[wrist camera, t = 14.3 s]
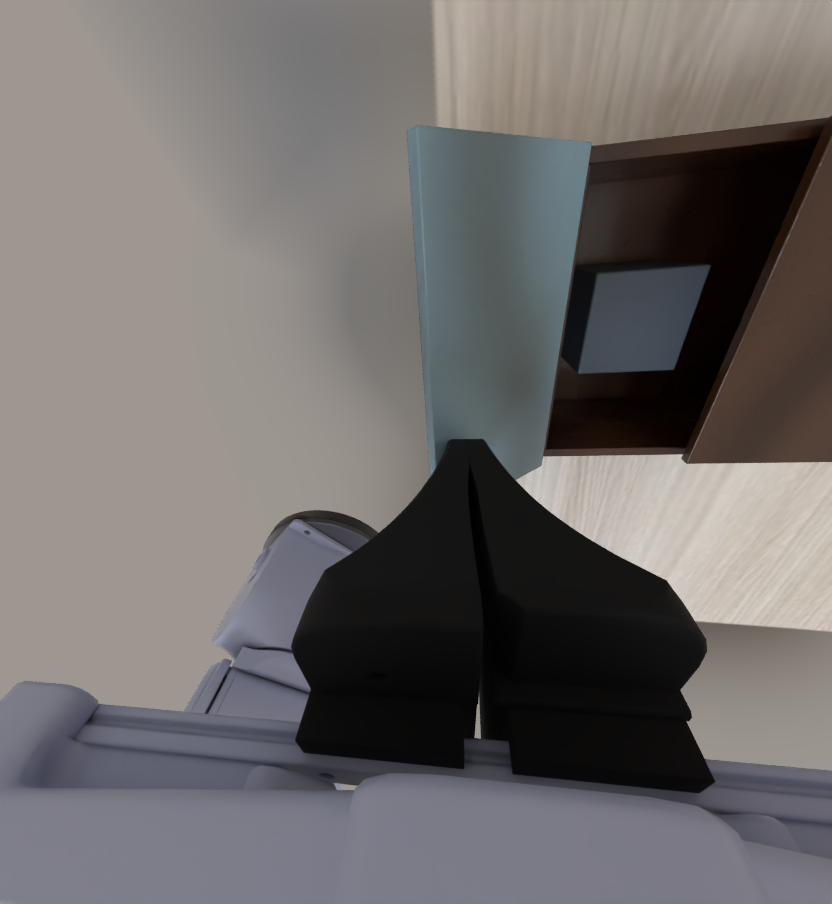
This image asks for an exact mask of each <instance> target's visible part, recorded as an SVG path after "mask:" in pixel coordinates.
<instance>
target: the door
mask: <svg viewBox="0 0 832 904" xmlns="http://www.w3.org/2000/svg"><path fill="white" fill-rule="evenodd" d="M407 143H408V157H409V172H410V186H411V200H412V201H411V202H412V216H413V231H414V246H415V259H416V260H415V261H416V275H417V290H418V303H419V304H418V305H419V319H420V334H421V347H422V348H421V349H422V364H423V378H424V393H425V408H426V422H427V436H428V437H427V438H428V452H429V466H430V477H431V475H432V473H433V472H434V470H435V468H436V467H437V465H438V463H439V462H440V460H441V458H442V456H443V454H444V451H445V449H446V446H447V442H448V441H449V440H451V439H484V440H485V441H486V443H487V444H488V446H489V448H490V449H491V451H492V452H493V453H494V455H495V456H496V457H497V459H498V460H499V461H500V463H501V464H502V465H503V466H504V468H505V469H506V470H507V471H508V472H509V474H510V475H511V476H512V477H513V478H514V479H515V480H516V479H518V478H520V477H522V476H523V475H525V474H527V473H529V472H531V471H532V470H534V469H536V468H538V467H540V466H541V465H542V459H543V452H544V446H545V440H546V433H547V427H548V420H549V414H550V408H551V401H552V395H553V388H554V382H555V376H556V369H557V363H558V356H559V350H560V344H561V337H562V331H563V324H564V318H565V312H566V305H567V299H568V292H569V286H570V280H571V273H572V267H573V260H574V254H575V248H576V241H577V235H578V228H579V222H580V216H581V209H582V203H583V196H584V190H585V184H586V177H587V171H588V164H589V158H590V152H591V145H592V144H591V143H590V142H580V141H570V140H560V139H551V138H541V137H531V136H521V135H511V134H501V133H491V132H481V131H471V130H462V129H452V128H442V127H432V126H422V125H416V126H415V127H413V128H411V129H409V130H408V131H407Z"/></svg>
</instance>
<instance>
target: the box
mask: <svg viewBox="0 0 832 904" xmlns="http://www.w3.org/2000/svg"><path fill="white" fill-rule="evenodd" d="M642 260H666V261H678V262H690V263H702V264H709V265H710V270H709V272H708V275H707V278H706V281H705V284H704V286H703V289H702V292H701V295H700V298H699V301H698V303H697V306H696V309H695V312H694V315H693V318H692V320H691V323H690V326H689V329H688V332H687V335H686V337H685V340H684V343H683V346H682V349H681V352H680V354H679V357H678V360H677V363H676V366H675V368H674V370H661V371H638V372H614V373H591V374H577V373H576V371H575V370H574V369H573V368H572V367H571V366H570V365H569V364H568V363H567V362H566V361H565V360H564V359H563V358H562V357H561V352H562V346H563V340H564V334H565V327H566V321H567V315H568V309H569V302H570V296H571V290H572V284H573V278H574V271H575V266H580V265H592V264H605V263H617V262H630V261H642ZM664 454H683V456H682V460H683V461H684V462H685V463H687V464H695V463H780V462H832V116H830V117H829V118H821V119H813V120H805V121H797V122H788V123H780V124H772V125H763V126H755V127H747V128H739V129H730V130H722V131H714V132H705V133H697V134H689V135H681V136H672V137H664V138H656V139H647V140H639V141H631V142H623V143H614V144H606V145H598V146H591V152H590V158H589V164H588V171H587V177H586V184H585V190H584V196H583V203H582V209H581V216H580V222H579V228H578V235H577V241H576V248H575V254H574V260H573V267H572V273H571V280H570V286H569V292H568V299H567V305H566V312H565V318H564V324H563V331H562V337H561V344H560V350H559V356H558V363H557V369H556V376H555V382H554V388H553V395H552V401H551V408H550V414H549V420H548V427H547V433H546V440H545V446H544V452H543V456H598V455H664Z"/></svg>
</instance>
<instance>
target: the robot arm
mask: <svg viewBox="0 0 832 904" xmlns="http://www.w3.org/2000/svg"><path fill="white" fill-rule="evenodd" d="M212 642H213V643H214V644H215V645H217V646H219V647H220V648H222V649H224V650H225V651H226V652H228V653H229V654H230V655H231V656H232V657H233V658H234V660H235V662H234V664H233V666H232V667H229V666H230V664H231V662H232V661H231V660H228V659H223V660H222V661H221V662H220V663H217V664H215V665H213V666H211V667H210V668H209V670H208V671H207V673H206V675H205V676H204V678H203V679H202V681H201V683H200V684H199V686H198V688H197V690H196V691H195V693H194V695H193V696H192V698H191V700H190V702H189V703H188V705H187V707H186V709H185V710H184V712H182V711H170V710H159V709H149V708H137V707H127V706H116V705H105V704H98V700H97V699H95V698H94V697H93V696H92V695H91V694H89V693H88V692H86V691H84V690H82V689H80V688H77V687H74V686H71V685H65V684H56V683H44V682H32V681H23V682H20V683H18V684H17V685H15V686H14V687H13V688H12V690H11V691H10V692H9V693H8V694H7V695H6V696H5V697H4V698H3V699H2V700H1V701H0V904H832V771H827V770H818V769H805V768H796V767H785V766H774V765H763V764H752V763H741V762H730V761H718V760H707V759H704V757H703V755H702V753H701V751H700V749H699V747H698V745H697V743H696V740H695V739H694V736H693V734H692V732H691V730H690V728H689V726H688V724H687V722H686V721H689V720H690V719H691V718H692V715H691V711H690V709H689V707H688V705H687V703H686V701H685V699H684V697H683V695H682V693H681V691H680V690H681V688H682V687H683V686H684V685H685V683H686V682H687V681H688V680H689V678H690V677H691V676H692V675H693V673H694V672H695V671H696V670H697V669H698V667H699V666H700V664H701V662H702V660H703V658H704V657H705V654H706V652H707V644H706V638H705V637H704V635H703V634H702V632H701V630H700V629H699V627H698V626H697V624H696V623H695V621H694V619H693V618H692V616H691V614H690V613H689V611H688V610H687V608H686V607H685V605H684V604H683V602H682V601H681V599H680V598H679V597H678V595H677V594H676V593H675V592H674V590H673V589H672V588H671V586H670V585H669V583H668V582H667V581H666V580H664V579H662V578H660V577H658V576H656V575H654V574H652V573H650V572H648V571H646V570H644V569H643V568H641V567H639V566H637V565H635V564H633V563H631V562H629V561H627V560H625V559H623V558H621V557H619V556H617V555H615V554H613V553H612V552H610V551H608V550H607V549H605V548H603V547H601V546H600V545H598V544H596V543H595V542H593V541H591V540H590V539H588V538H586V537H585V536H583V535H582V534H580V533H579V532H577V531H576V530H574V529H573V528H571V527H570V526H568V525H567V524H566V523H564V522H563V521H561V520H560V519H558V518H557V517H556V516H554V515H553V514H552V513H550V512H549V511H548V510H547V509H545V508H544V507H543V506H542V505H541V504H539V503H538V502H537V501H536V500H535V499H534V498H533V497H531V496H530V495H529V494H528V493H527V492H526V491H525V490H524V489H523V488H522V487H521V486H520V485H519V484H518V483H517V481H516V480H515V479H514V478H513V477H512V476H511V475H510V474H509V472H508V471H507V470H506V469H505V468H504V466H503V465H502V464H501V463H500V461H499V460H498V459H497V457H496V456H495V455H494V453H493V452H492V451H491V449H490V448H489V446H488V444H487V443H486V441H485V440H484V439H451V440H449V441H448V442H447V446H446V449H445V451H444V454H443V456H442V458H441V460H440V462H439V463H438V465H437V467H436V468H435V470H434V472H433V473H432V475H431V477H430V478H429V479H428V481H427V482H426V484H425V485H424V487H423V488H422V489H421V491H420V492H419V493H418V494H417V496H416V497H415V498H414V499H413V501H412V502H411V503H410V504H409V505H408V506H407V507H406V508H405V509H404V510H403V511H402V512H401V514H399V515H398V516H397V517H396V518H395V519H394V520H393V521H392V522H391V523H390V524H389V525H388V526H387V527H386V528H384V529H383V530H382V531H381V532H379V533H378V534H377V535H376V536H374V537H373V538H372V539H371V540H369V541H368V542H367V543H366V544H364V545H363V546H362V547H360V548H359V549H357V550H356V551H354V552H353V551H352V550H350V549H348V548H347V547H345V546H343V545H342V544H340V543H338V542H337V541H335V540H333V539H332V538H330V537H328V536H327V535H325V534H323V533H322V532H320V531H318V530H317V529H315V528H313V527H312V526H310V525H308V524H307V523H305V522H303V521H302V520H300V519H294V520H293V521H292V522H291V523H290V524H289V525H288V527H287V528H286V529H285V530H284V531H283V532H282V533H281V534H280V535H279V536H278V538H277V539H276V540H275V541H274V542H273V543H272V544H271V545H270V546H269V548H268V549H267V548H266V549H265V550H264V551H263V552H262V553H261V555H260V556H259V557H258V559H257V560H256V562H255V564H254V566H253V570H252V571H251V573H250V575H249V576H248V578H247V580H246V581H245V583H244V584H243V586H242V588H241V589H240V591H239V593H238V594H237V596H236V598H235V599H234V601H233V603H232V605H231V606H230V608H229V609H228V611H227V612H226V614H225V616H224V618H223V619H222V621H221V623H220V624H219V626H218V628H217V630H216V632H215V634H214V636H213V639H212ZM479 696H480V697H479ZM478 697H479V698H480V724H481V739H478V738H474V735H475V722H476V708H477V704H478ZM343 784H348V785H357V787H356V788H355V790H341V789H342V786H343Z"/></svg>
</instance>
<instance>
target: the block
mask: <svg viewBox="0 0 832 904" xmlns="http://www.w3.org/2000/svg"><path fill="white" fill-rule="evenodd" d="M709 270H710V265H709V264H702V263H690V262H678V261H666V260H642V261H630V262H617V263H605V264H592V265H580V266H575V271H574V278H573V284H572V290H571V296H570V302H569V309H568V315H567V321H566V327H565V334H564V340H563V346H562V352H561V357H562V358H563V359H564V360H565V361H566V362H567V363H568V364H569V365H570V366H571V367H572V368H573V369H574V370H575V371H576V373H577V374H591V373H614V372H638V371H661V370H674V368H675V366H676V363H677V360H678V357H679V354H680V352H681V349H682V346H683V343H684V340H685V337H686V335H687V332H688V329H689V326H690V323H691V320H692V318H693V315H694V312H695V309H696V306H697V303H698V301H699V298H700V295H701V292H702V289H703V286H704V284H705V281H706V278H707V275H708V272H709Z"/></svg>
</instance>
